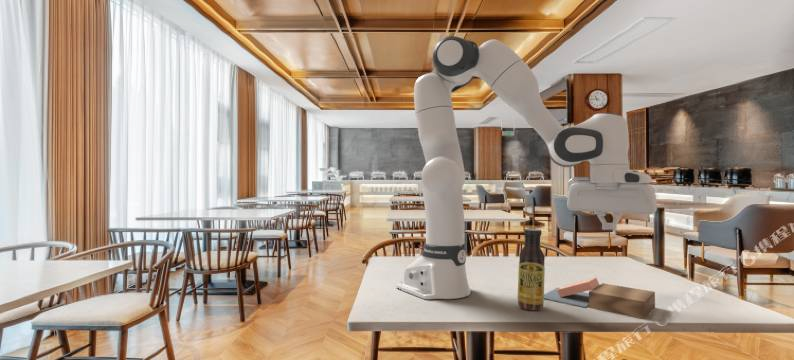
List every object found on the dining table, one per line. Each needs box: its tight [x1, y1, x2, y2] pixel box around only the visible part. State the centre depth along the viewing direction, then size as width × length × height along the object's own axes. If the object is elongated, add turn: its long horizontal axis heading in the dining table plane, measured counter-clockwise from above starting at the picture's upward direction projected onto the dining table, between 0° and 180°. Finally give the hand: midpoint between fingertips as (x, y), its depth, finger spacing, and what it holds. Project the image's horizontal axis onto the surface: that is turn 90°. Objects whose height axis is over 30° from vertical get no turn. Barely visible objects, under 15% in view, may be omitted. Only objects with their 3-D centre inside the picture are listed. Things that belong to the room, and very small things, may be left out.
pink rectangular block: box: [557, 277, 600, 297], centre depth 103 cm, size 9×6×2 cm, turn 46°
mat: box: [544, 287, 589, 309], centre depth 104 cm, size 12×13×1 cm
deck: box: [588, 282, 656, 320], centre depth 96 cm, size 12×11×4 cm
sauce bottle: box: [517, 228, 546, 311], centre depth 96 cm, size 6×6×20 cm
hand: (609, 230), depth 98 cm, fingers closed
